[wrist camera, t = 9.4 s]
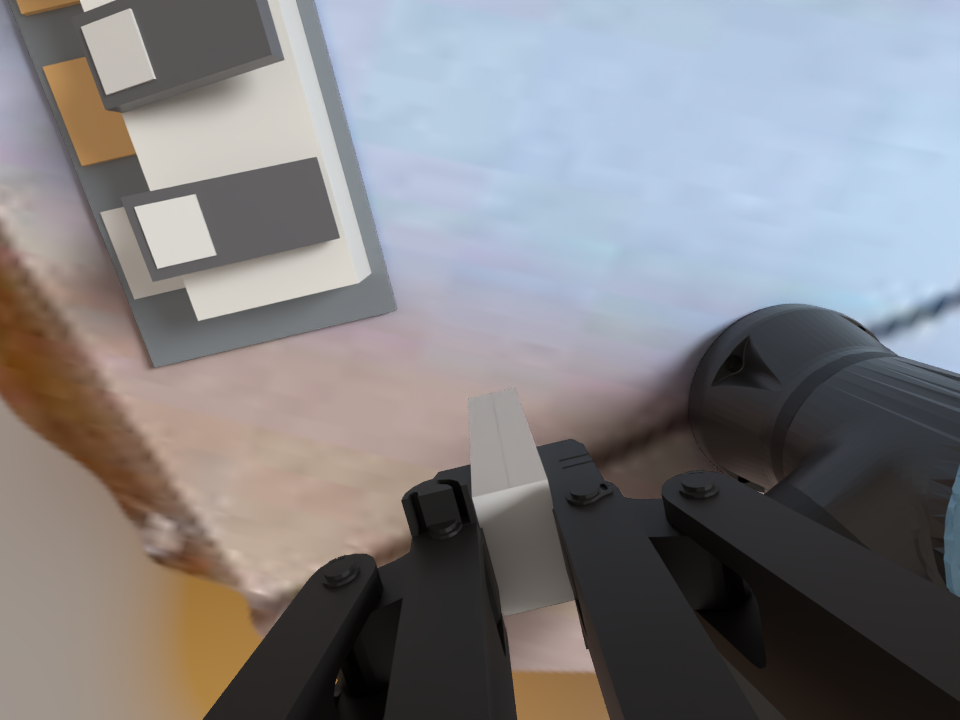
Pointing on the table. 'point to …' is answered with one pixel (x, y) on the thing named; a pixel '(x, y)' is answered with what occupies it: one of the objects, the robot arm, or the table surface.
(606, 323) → the table surface
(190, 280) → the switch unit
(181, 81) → the middle rocker
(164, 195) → the block
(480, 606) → the robot arm
